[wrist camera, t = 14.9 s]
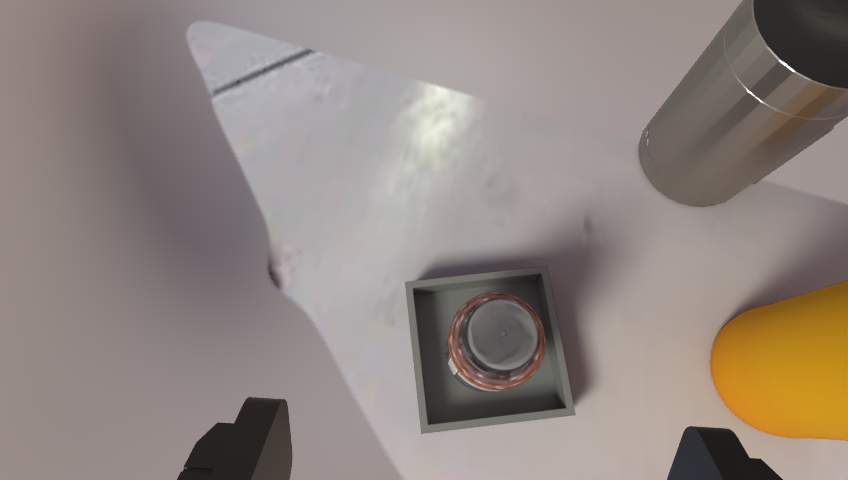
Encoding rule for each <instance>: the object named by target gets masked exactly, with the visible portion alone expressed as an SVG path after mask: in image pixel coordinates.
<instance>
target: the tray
mask: <svg viewBox="0 0 848 480" xmlns="http://www.w3.org/2000/svg"><path fill="white" fill-rule="evenodd" d="M405 286H406V295H407V304H408V314H409V323H410V332H411V342H412V351H413V360H414V370H415V379H416V388H417V398H418V407H419V416H420V426H421V434H423V433H431V432H440V431H448V430H456V429H464V428H473V427H481V426H489V425H497V424H505V423H514V422H522V421H530V420H538V419H547V418H555V417H563V416H571V415H575V410H574V405H573V400H572V394H571V389H570V384H569V378H568V373H567V368H566V362H565V357H564V352H563V346H562V341H561V336H560V330H559V325H558V320H557V314H556V309H555V304H554V299H553V293H552V288H551V283H550V277H549V272H548V267H547V266H542V267H533V268H524V269H516V270H507V271H498V272H489V273H480V274H471V275H463V276H454V277H445V278H436V279H427V280H418V281H410V282H405ZM490 292H500V293H507V294H510V295H513V296H515V297H518V298H519V299H521V300H523V301H524V302H526V303H527V304H528V305H529V306H530V307H531V308H532V309H533V310H534V311H535V312H536V314H537V315H538V317H539V319H540V321H541V323H542V325H543V328H544V332H545V338H546V346H545V353H544V357H543V360H542V362H541V364H540V366H539V368H538V369H537V371H536V372H535V373H534V375H533V376H532V377H531V378H530V379H529V380H527V381H526V382H524V383H523V384H521V385H519V386H517V387H514V388H511V389H507V390H503V391H498V392H491V393H484V392H478V391H475V390H472V389H470V388H468V387H466V386H465V385H463V384H462V383H460V382H459V381H458V380H457V379H456V377H455V376H454V374H453V373H452V371H451V369H450V368H449V364H448V362H447V358H446V355H445V353H446V343H447V338H448V334H449V329H450V326H451V323H452V321H453V318H454V316H455V315H456V313H457V312H458V310H459V309H460V308H461V307H462V305H464V304H465V303H466V302H467V301H469V300H471V299H472V298H474V297H476V296H478V295H481V294H485V293H490Z"/></svg>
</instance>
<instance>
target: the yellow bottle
mask: <svg viewBox="0 0 848 480" xmlns="http://www.w3.org/2000/svg"><path fill="white" fill-rule="evenodd" d="M710 366H711V374H712V378H713V382H714V385H715V387H716V389H717V392H718V394H719V396H720V397H721V399H722V400H723V402H724V403H725V405H726V406H727V407H728V408H729V409H730V410H731V411H732V412H733V413H734V415H735V416H737V417H738V418H739V419H741V420H742V421H743V422H744V423H746V424H748V425H750V426H751V427H753V428H755V429H757V430H760V431H762V432H765V433H768V434H771V435H775V436H781V437H787V438H814V439H831V440H846V441H848V280H847V281H844V282H841V283H838V284H834V285H831V286H828V287H825V288H822V289H818V290H815V291H812V292H809V293H806V294H803V295H799V296H796V297H793V298H790V299H787V300H783V301H780V302H777V303H774V304H770V305H766V306H762V307H758V308H754V309H751V310H749V311H747V312H744V313H742V314H740V315H738V316H736V317H735V318H734V319H732V320H731V321H730V322H728V323H727V324H726V325H725V326H724V327H723V328H722V330H721V331H720V332H719V333H718V335H717V337H716V339H715V341H714V344H713V347H712V351H711V360H710Z"/></svg>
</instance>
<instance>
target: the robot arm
mask: <svg viewBox="0 0 848 480" xmlns="http://www.w3.org/2000/svg"><path fill="white" fill-rule="evenodd" d="M847 116H848V0H743V1H742V2H741V3H740V5H739V6H738V7H737V9H736V10H735V11H734V13H733V14H732V16H731V17H730V18H729V19H728V21H727V22H726V23H725V25H724V26H723V27H722V29H721V30H720V31H719V32H718V34H717V35H716V36H715V38H714V39H713V40H712V42H711V43H710V44H709V46H708V47H707V48H706V50H705V51H704V52H703V53H702V55H701V56H700V57H699V58H698V60H697V61H696V62H695V64H694V65H693V66H692V68H691V69H690V70H689V72H688V73H687V74H686V75H685V77H684V78H683V79H682V81H681V82H680V83H679V85H678V86H677V87H676V88H675V90H674V91H673V92H672V94H671V95H670V96H669V98H668V99H667V100H666V101H665V103H664V104H663V105H662V107H661V108H660V109H659V110H658V112H657V113H656V114H655V116H654V117H653V118H652V120H651V121H650V122H649V124H648V125H647V127H646V128H645V129H644V131H643V133H642V136H641V139H640V143H639V157H640V162H641V165H642V168H643V170H644V173H645V174H646V176H647V177H648V179H649V180H650V182H651V183H652V184H653V185H654V186H655V187H656V188H657V189H658V190H659V191H660V192H662V193H663V194H664V195H666V196H667V197H669V198H671V199H673V200H675V201H677V202H679V203H683V204H686V205H690V206H700V207H705V206H713V205H717V204H720V203H723V202H725V201H727V200H728V199H730V198H732V197H733V196H735V195H736V194H738V193H739V192H740V191H742V190H743V189H745V188H746V187H747V186H749V185H750V184H755V183H757V182H758V181H760V180H761V179H763V178H764V177H765V176H767V175H768V174H770V173H771V172H772V171H774V170H776V169H777V168H778V167H780V166H781V165H783V164H784V163H786V162H787V161H788V160H790V159H791V158H793V157H794V156H796V155H797V154H798V153H800V152H801V151H803V150H804V149H806V148H807V147H808V146H810V145H811V144H813V143H814V142H816V141H817V140H818V139H820V138H821V137H823V136H824V135H826V134H827V133H828V132H830V131H831V130H832V129H833V128H834V126H835V125H836V124H837V123H839V122H840V121H841V120H843V119H844V118H846V117H847ZM291 467H292V444H291V434H290V424H289V415H288V406H287V402H286V400H285V399H268V398H252V397H249V398H247V399H246V401H245V402H244V404H243V406H242V408H241V410H240V412H239V414H238V417H237V419H236V421H235V423H234V424H231V423H217V424H216V425H215V426H214V427H212V428H211V429H210V430H209V431H208V432H207V433H206V434H205V435H204V436H203V437H202V438H201V439H200V440H199V441H198V442H197V443H196V444H195V446H194V448H193V450H192V452H191V454H190V456H189V458H188V460H187V462H186V463H185V465H184V470H183V472H181V473H180V475H179V477H178V479H177V480H289V479H290V474H291ZM667 480H783V479H782V478H781V477H780V476H778V475H777V474H776V473H775V472H774V471H773V470H772V469H771V468H770V467H769V466H768V465H767V464H766V463H765V462H763V461H762V460H761V459H755V458H749V456H748V455H747V453H746V451H745V449H744V448H743V446H742V444H741V443H740V441H739V439H738V437H737V436H736V435H735V433H734V432H733V431H731V430H730V429H724V428H708V427H693V426H689V427H687V428H686V429H685V431H684V433H683V436H682V439H681V441H680V444H679V447H678V450H677V453H676V455H675V458H674V461H673V464H672V467H671V469H670V472H669V475H668V478H667Z"/></svg>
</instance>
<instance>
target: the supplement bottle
mask: <svg viewBox="0 0 848 480" xmlns="http://www.w3.org/2000/svg"><path fill="white" fill-rule="evenodd" d="M545 346H546V338H545V332H544V328H543V325H542V323H541V321H540V319H539V317H538V315H537V314H536V312H535V311H534V310H533V309H532V308H531V307H530V306H529V305H528V304H527V303H526V302H524V301H523V300H521V299H519V298H518V297H515V296H513V295H510V294H507V293H500V292H490V293H485V294H481V295H478V296H476V297H474V298H472V299H471V300H469V301H467V302H466V303H465V304H464V305H462V307H461V308H460V309H459V310H458V312H457V313H456V315H455V316H454V318H453V321H452V323H451V326H450V329H449V334H448V338H447V343H446V353H445V355H446V358H447V362H448V364H449V368H450V369H451V371H452V373H453V374H454V376H455V377H456V379H457V380H458V381H459V382H460V383H462V384H463V385H465V386H466V387H468V388H470V389H472V390H475V391H478V392H484V393H491V392H498V391H503V390H507V389H511V388H514V387H517V386H519V385H521V384H523V383H524V382H526V381H527V380H529V379H530V378H531V377H532V376H533V375H534V373H535V372H536V371H537V369H538V368H539V366H540V364H541V362H542V360H543V357H544V353H545Z"/></svg>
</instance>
